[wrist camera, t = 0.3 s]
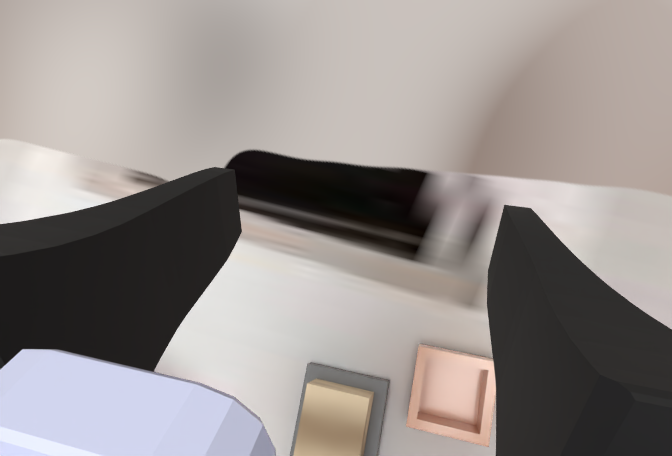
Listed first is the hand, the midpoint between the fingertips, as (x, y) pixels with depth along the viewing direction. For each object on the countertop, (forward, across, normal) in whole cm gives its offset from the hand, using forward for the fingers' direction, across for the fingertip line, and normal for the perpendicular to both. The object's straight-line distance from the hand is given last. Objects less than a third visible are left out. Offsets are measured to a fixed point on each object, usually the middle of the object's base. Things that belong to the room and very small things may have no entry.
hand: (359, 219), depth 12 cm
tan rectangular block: (+12, +3, +28) cm, 30 cm away
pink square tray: (+16, -6, +25) cm, 30 cm away
